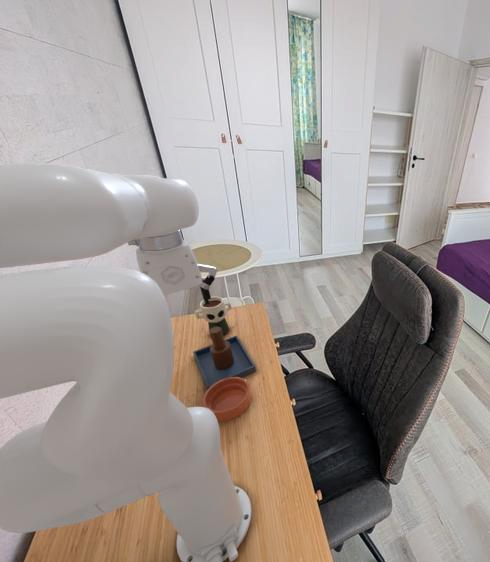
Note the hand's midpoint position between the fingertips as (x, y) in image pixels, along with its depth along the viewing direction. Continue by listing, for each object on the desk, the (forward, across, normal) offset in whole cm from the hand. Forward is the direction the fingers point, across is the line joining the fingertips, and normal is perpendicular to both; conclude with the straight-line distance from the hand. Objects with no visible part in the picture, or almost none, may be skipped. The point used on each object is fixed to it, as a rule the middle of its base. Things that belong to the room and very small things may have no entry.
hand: (183, 308), depth 66 cm
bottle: (+28, +6, +8) cm, 29 cm away
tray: (+28, +6, +8) cm, 30 cm away
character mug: (+28, +8, +25) cm, 38 cm away
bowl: (+28, +3, -7) cm, 30 cm away
